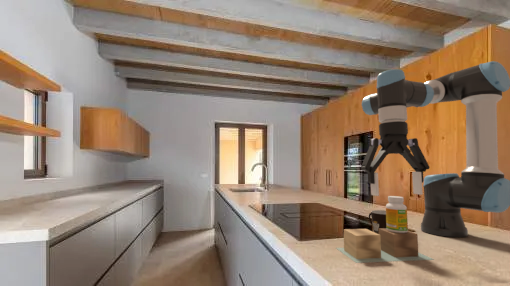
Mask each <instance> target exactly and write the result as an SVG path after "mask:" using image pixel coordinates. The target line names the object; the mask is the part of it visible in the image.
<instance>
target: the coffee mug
mask: <svg viewBox="0 0 510 286" xmlns="http://www.w3.org/2000/svg"><path fill="white" fill-rule="evenodd" d="M368 220H369V222H370V224H371V226H372V230H373V232H375V233H377V234H379V228H387V227H386V210H381V209H380V210H379V209H377V210H370V213H369V214H368Z"/></svg>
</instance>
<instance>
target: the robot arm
mask: <svg viewBox="0 0 510 286" xmlns="http://www.w3.org/2000/svg"><path fill="white" fill-rule="evenodd" d="M375 89H376V92H375V93H371V94H369V95H366V96H364V98H363V99H362V101H361V108H362V111H363V112H364V113H365V115H368V116H373V115H375V116H376V115H378V122H379V123H380V124H379V125H378V132H379V134H378V135H379V137H380V139H379V138H377V137H376V138H375V137H374V138H370V140H369V147H368V149H367V152H366V154H365V156H364V159H363V162H362V163H361V167H360V169H361V170H362V171H365V172H366V173H367V181H368V182H367V183H368V184H369V185H370V196H376V197H379V196H380V191H379V190H380V189H379V173H378V172H376V171H377V169H378V168H379V167H380V165H381V164H382V162H383V161H384V159H385V158H386V157H387V156H388V155H389V154H391V155H394V154H395V155H401V156H402V157H403V158H404V159H405V160H406V162H407V163H408V164H409V166H410V167H411V168H412V169H413V170H414V171H412V173H411V176H412V190H413V191H412V192H413V194H414V195H419V196H420V195H423V194H424V195H423V196H424V213H423V216H422V221H421V223H420V230H421V231H422V232H424V233H427V234H430V235H434V236H442V237H448V238H449V237H450V238H466V237H468V236H469V232H468V228H467V227H466V224H465V222H464V219H463V216H462V212H461V211H462V210H461V209H464V210H465V209H466V210H472V211H479V212H480V211H481V212H484V213H496V214H498V213H504V212H505V211H507V210H508V209H509V207H510V179H507V178H505V173H503V171H501V170H500V169H499V157H498V155H499V153H498V152H499V149H498V116H497V115H498V113H497V108H498V107H497V105H498V102H500V101H501V100H502V99H503V93H505V92H507V91H508V90H509V89H510V74H509V72H508V71H507V69H506V68H505V66H504V65H503V64H502V63H500V62H498V61H494V60H493V61H487V62H485V63H479V64H477V65H474V66H470V67H467V68H464V69H460V70H457V71H453V72H450V73H447V74H445V75H443V76H440V77H438V78H434V79H431V80H428V81H426V82H421V81H413V80H408V79H406V75H405V72H404V70H402V69H399V68H398V69H397V68H393V69H387V70H384V71H381V72H380V73H379V74H378V75H377V77H376V88H375ZM458 101H460V102H461V104H463V105H465V131H466V132H465V137H466V138H465V141H466V142H465V146H466V147H465V148H466V151H465V155H466V158H465V159H466V162H465V163H466V166H465V169H463V170H462V171H461V173H460V174H461V175H460V176H461V177H460V176H459V173H454V172H453V173H452V172H451V173H440V174H439V173H438V174H437V173H436V174H428V175H426V176H424V172H425V173H426V171H427V170H429V169H430V164H429V163H428V162H427V159H426V157H425V155H424V153H423V151H422V149H421V147H420V144H419V140H418V138H416V137H414V138H409V139H408V133H409V130H408V129H409V127H408V123H407V120H408V112H407V111H408V110H407V109H408V108H410V107H413V108H414V107H415V108H420V107H421V108H423V107H426V106H428V105H429V104H437V103H447V102H458ZM379 146H381V148H380V149H379ZM408 146H409V147H408ZM378 149H379V150H378ZM377 151H378V153H377ZM376 154H377V155H376Z"/></svg>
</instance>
